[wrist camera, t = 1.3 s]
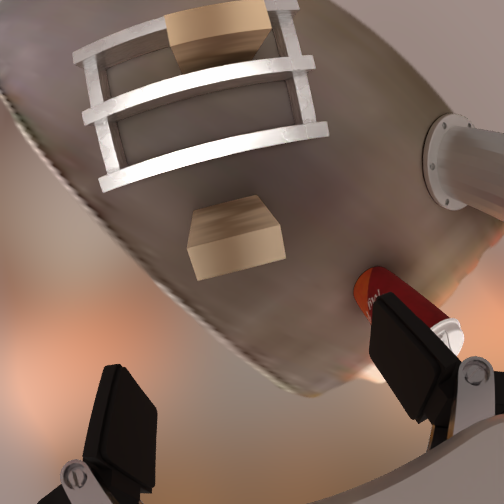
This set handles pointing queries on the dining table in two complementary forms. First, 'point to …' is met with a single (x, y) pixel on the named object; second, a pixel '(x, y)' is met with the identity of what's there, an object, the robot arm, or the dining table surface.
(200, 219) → the beech board
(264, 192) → the dining table surface
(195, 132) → the dining table surface
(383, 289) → the paper cup
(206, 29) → the oak board
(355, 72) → the dining table surface
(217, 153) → the rack
